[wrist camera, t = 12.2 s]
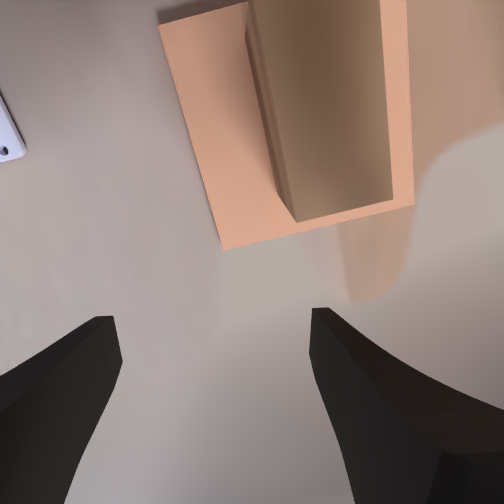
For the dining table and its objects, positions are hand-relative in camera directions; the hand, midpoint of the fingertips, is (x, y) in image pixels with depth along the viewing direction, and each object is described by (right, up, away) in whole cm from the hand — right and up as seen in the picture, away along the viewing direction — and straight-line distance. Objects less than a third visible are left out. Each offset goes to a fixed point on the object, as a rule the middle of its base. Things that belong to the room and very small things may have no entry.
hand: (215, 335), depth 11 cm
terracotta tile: (+4, +10, +6) cm, 13 cm away
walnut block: (+4, +11, +5) cm, 12 cm away
